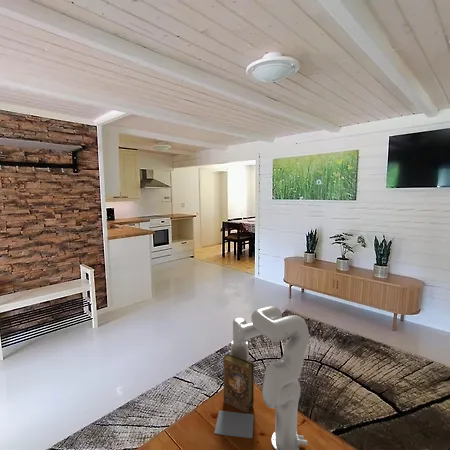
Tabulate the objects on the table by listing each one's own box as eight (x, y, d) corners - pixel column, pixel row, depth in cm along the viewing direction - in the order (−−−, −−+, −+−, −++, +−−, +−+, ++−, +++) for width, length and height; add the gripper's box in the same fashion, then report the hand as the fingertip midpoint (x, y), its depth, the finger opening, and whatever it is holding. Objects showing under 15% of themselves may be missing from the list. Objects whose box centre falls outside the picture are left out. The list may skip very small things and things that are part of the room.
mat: (253, 415, 143) (253, 414, 143) (252, 438, 130) (252, 437, 129) (219, 411, 146) (219, 410, 146) (214, 433, 132) (214, 433, 132)
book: (222, 401, 153) (222, 358, 150) (227, 395, 158) (227, 353, 155) (248, 413, 144) (249, 368, 142) (253, 406, 149) (254, 362, 146)
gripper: (253, 338, 159) (253, 368, 161) (227, 336, 161) (227, 366, 163) (252, 345, 152) (252, 376, 154) (225, 343, 154) (225, 374, 156)
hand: (239, 371), depth 158 cm, fingers closed
